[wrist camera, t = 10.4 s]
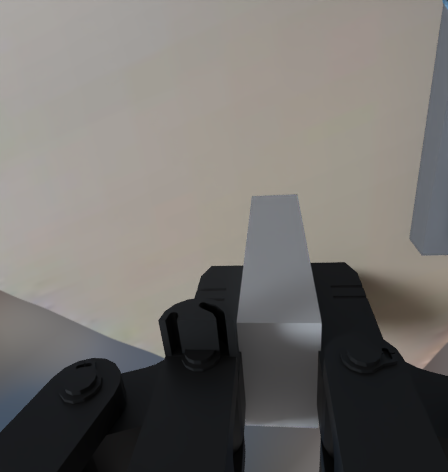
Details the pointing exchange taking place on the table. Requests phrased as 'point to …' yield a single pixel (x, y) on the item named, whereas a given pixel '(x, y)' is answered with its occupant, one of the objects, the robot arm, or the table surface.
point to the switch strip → (434, 161)
